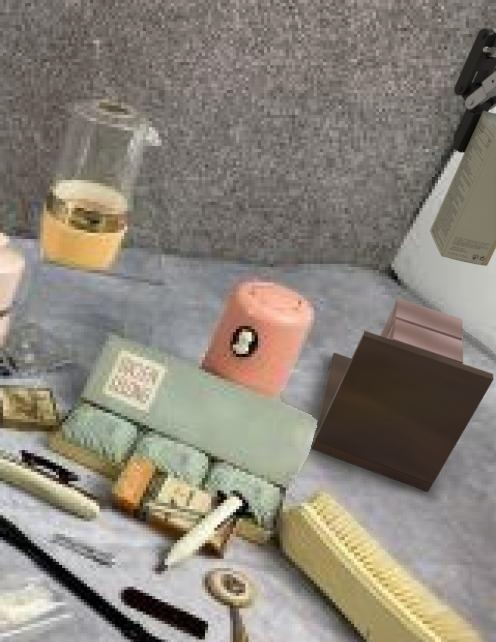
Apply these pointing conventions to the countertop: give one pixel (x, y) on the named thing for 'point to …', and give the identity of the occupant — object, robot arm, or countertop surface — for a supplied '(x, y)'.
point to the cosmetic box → (471, 201)
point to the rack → (401, 397)
